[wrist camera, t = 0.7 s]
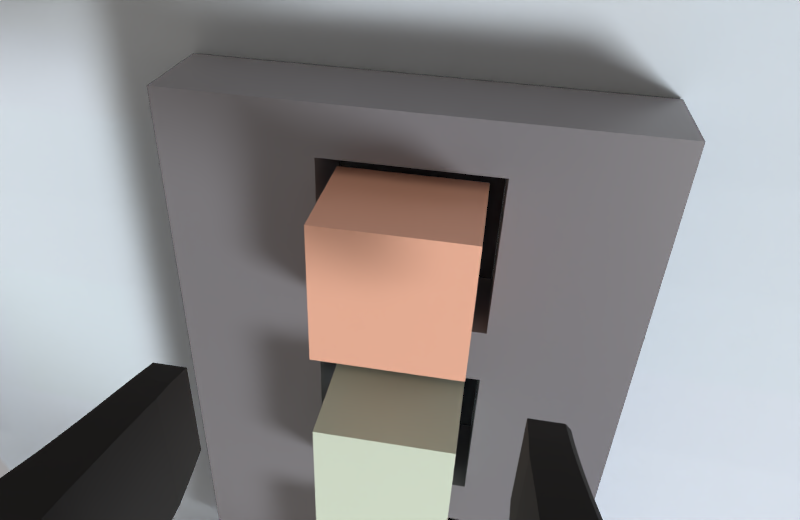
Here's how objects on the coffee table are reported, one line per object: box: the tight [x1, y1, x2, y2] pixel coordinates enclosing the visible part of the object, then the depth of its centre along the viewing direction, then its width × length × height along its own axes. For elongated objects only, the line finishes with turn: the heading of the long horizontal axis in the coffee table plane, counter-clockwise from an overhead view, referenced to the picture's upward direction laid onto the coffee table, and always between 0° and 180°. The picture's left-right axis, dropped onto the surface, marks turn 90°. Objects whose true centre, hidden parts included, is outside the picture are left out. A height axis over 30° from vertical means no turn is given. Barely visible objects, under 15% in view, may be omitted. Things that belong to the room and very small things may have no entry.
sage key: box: [313, 364, 465, 520], centre depth 19 cm, size 4×4×3 cm
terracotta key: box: [304, 166, 490, 382], centre depth 16 cm, size 4×4×3 cm
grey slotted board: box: [147, 53, 705, 520], centre depth 21 cm, size 19×12×2 cm, turn 178°
